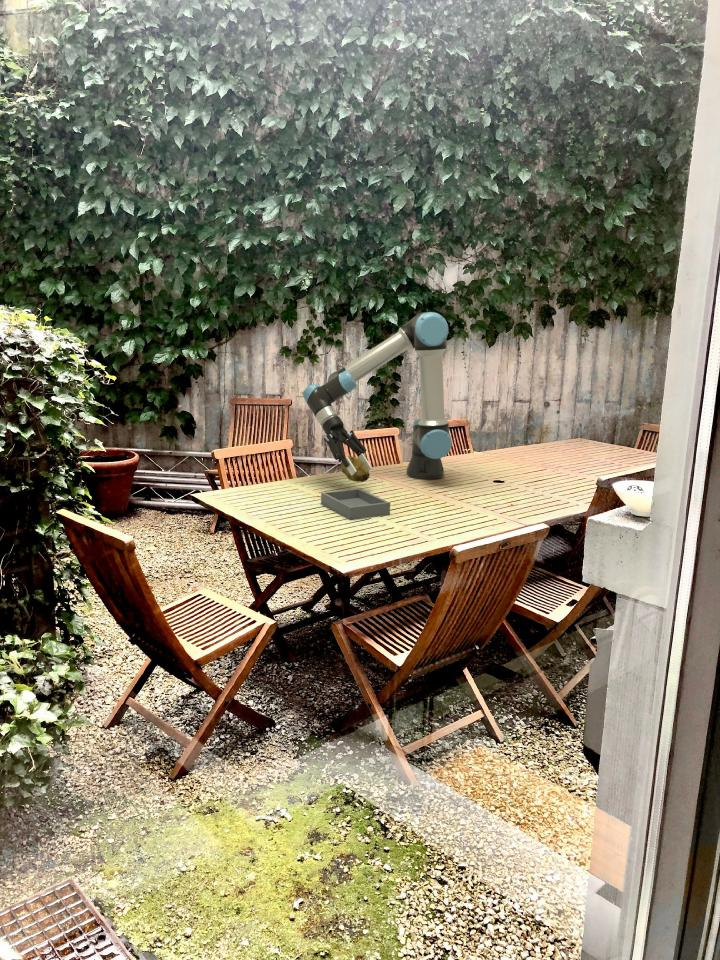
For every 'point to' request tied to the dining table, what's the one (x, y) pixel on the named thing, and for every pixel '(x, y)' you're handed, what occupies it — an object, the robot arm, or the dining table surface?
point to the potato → (361, 470)
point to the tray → (355, 503)
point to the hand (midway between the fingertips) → (361, 471)
